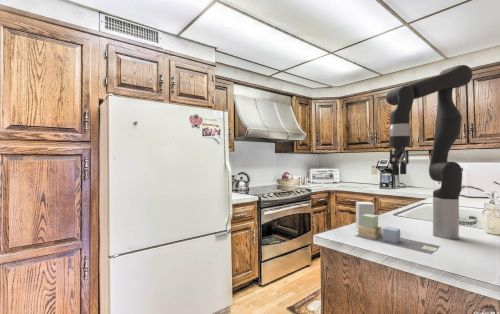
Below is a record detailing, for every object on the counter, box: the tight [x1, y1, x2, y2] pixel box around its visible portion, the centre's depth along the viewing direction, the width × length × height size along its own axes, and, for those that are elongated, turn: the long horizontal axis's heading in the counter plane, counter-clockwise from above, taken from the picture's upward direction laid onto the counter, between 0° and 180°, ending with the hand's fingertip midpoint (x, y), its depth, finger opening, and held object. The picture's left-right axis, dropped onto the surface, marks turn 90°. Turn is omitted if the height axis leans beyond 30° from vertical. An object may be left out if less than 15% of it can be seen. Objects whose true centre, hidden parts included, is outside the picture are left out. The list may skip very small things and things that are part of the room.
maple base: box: [358, 225, 382, 239], centre depth 118 cm, size 7×7×4 cm
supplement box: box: [355, 201, 376, 230], centre depth 131 cm, size 7×7×13 cm
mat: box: [354, 233, 441, 255], centre depth 111 cm, size 12×29×1 cm, turn 42°
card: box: [422, 246, 438, 253], centre depth 101 cm, size 4×4×1 cm
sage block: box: [362, 214, 379, 229], centre depth 118 cm, size 5×5×5 cm
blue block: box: [382, 225, 401, 243], centre depth 111 cm, size 5×5×5 cm
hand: (399, 174), depth 110 cm, fingers open, 8 cm apart
